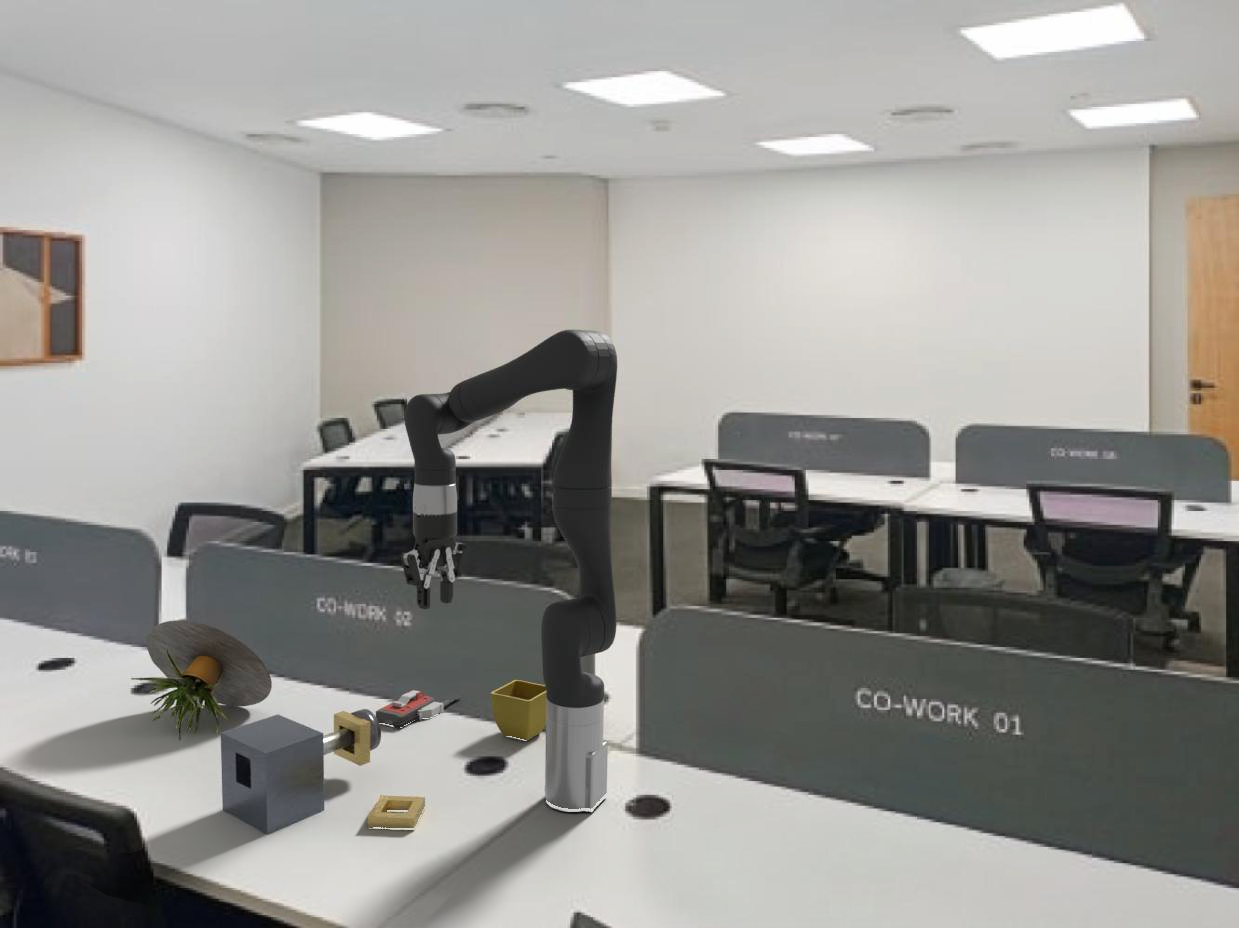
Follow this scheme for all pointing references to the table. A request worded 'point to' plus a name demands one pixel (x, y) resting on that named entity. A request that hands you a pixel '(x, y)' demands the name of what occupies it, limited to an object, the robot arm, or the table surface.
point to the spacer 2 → (396, 820)
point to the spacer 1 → (362, 737)
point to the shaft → (352, 734)
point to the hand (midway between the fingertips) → (435, 604)
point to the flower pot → (520, 709)
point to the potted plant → (204, 670)
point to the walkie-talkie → (409, 709)
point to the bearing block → (272, 772)
